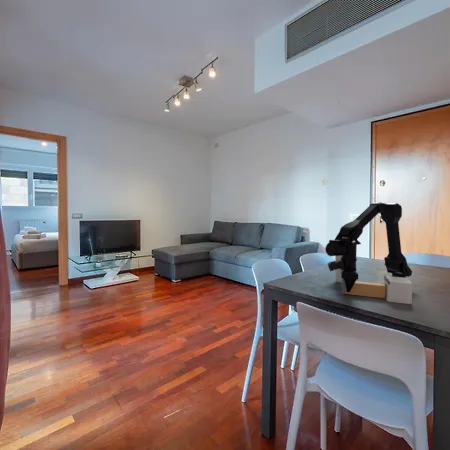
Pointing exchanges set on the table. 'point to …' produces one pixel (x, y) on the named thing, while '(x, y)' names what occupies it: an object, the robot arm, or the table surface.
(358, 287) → the plug
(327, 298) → the table surface
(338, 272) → the skincare box
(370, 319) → the table surface
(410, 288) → the block
